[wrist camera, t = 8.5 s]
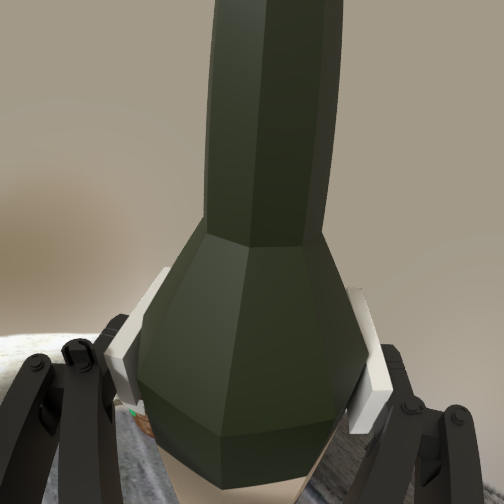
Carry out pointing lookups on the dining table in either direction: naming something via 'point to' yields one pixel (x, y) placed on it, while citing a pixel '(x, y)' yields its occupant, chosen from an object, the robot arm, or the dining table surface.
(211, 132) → the wine bottle
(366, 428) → the robot arm
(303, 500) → the dining table surface
